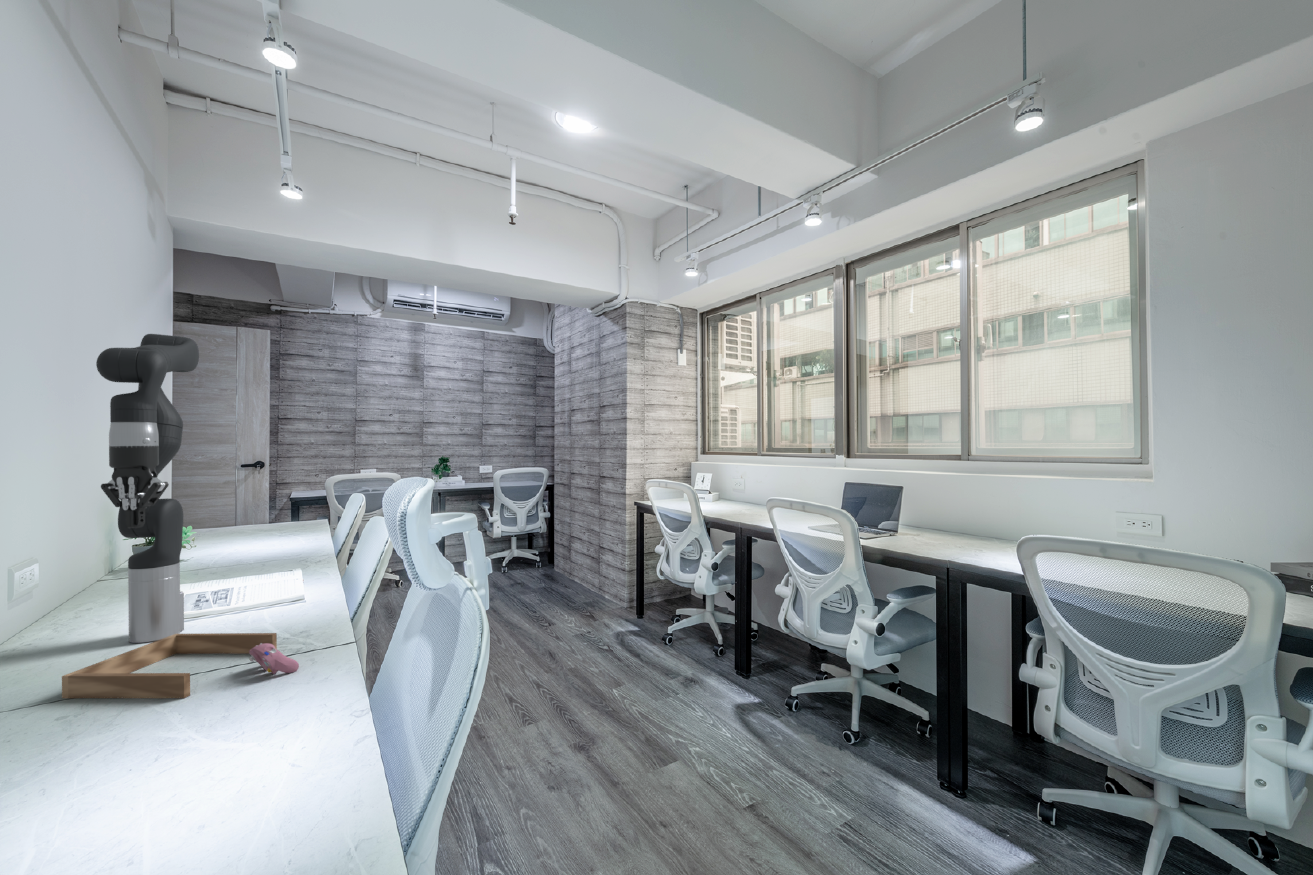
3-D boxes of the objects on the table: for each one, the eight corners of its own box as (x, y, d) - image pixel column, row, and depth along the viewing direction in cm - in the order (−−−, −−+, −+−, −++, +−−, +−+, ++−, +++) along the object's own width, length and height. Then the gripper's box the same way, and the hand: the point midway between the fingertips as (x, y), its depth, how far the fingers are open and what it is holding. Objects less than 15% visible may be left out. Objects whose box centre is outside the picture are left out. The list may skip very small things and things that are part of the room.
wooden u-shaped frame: (176, 651, 121) (176, 633, 122) (276, 651, 120) (276, 633, 120) (61, 698, 99) (61, 676, 99) (184, 698, 98) (184, 675, 98)
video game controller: (258, 675, 112) (239, 649, 109) (280, 658, 115) (263, 632, 113) (280, 686, 106) (260, 659, 104) (302, 668, 110) (284, 641, 107)
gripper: (181, 443, 117) (182, 524, 117) (122, 445, 118) (123, 525, 118) (147, 444, 110) (148, 530, 110) (84, 445, 111) (85, 531, 110)
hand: (135, 527), depth 114 cm, fingers closed
